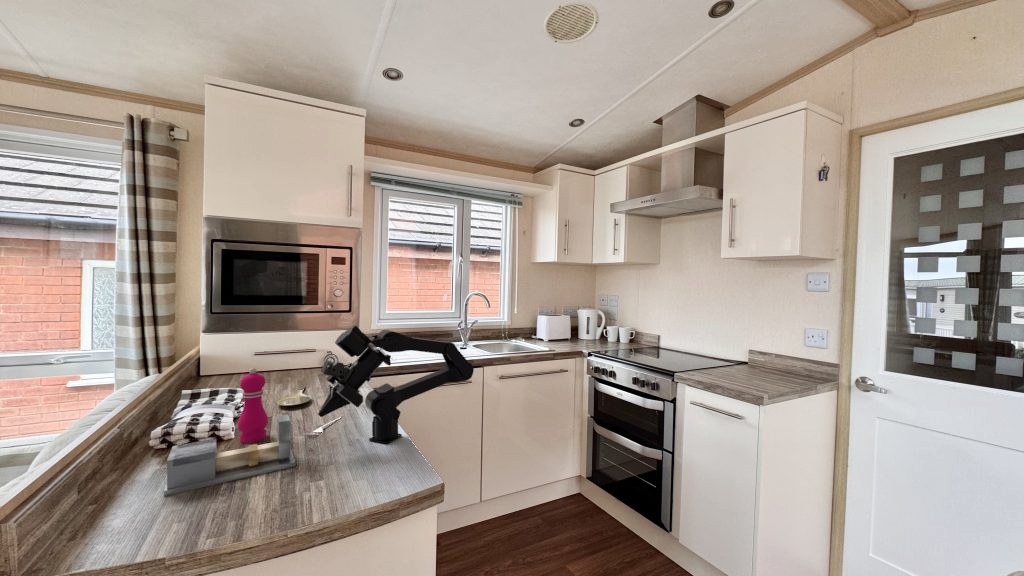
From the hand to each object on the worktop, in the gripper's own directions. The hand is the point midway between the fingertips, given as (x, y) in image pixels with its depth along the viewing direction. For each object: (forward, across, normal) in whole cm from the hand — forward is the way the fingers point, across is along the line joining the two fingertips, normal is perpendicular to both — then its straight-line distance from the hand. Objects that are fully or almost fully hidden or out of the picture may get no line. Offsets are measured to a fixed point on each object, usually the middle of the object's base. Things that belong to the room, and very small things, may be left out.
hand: (319, 415), depth 104 cm
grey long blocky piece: (+20, 0, -6) cm, 20 cm away
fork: (+4, -20, +11) cm, 23 cm away
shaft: (+16, 0, -4) cm, 17 cm away
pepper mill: (+17, -21, -3) cm, 27 cm away
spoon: (+6, -61, +8) cm, 61 cm away
